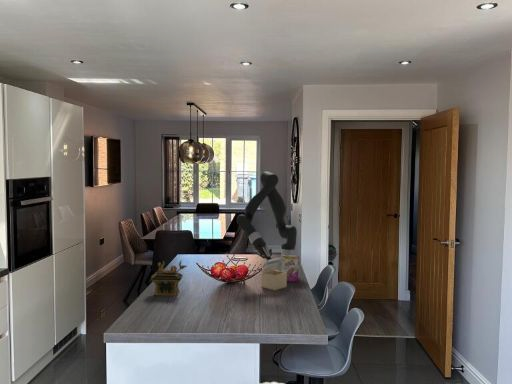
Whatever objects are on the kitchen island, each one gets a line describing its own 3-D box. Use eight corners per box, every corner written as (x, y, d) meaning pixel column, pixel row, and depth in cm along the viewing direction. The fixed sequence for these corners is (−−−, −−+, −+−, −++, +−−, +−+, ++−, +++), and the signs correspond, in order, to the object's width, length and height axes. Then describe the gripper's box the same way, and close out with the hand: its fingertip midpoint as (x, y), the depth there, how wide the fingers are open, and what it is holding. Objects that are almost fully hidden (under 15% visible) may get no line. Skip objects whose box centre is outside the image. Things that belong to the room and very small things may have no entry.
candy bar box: (280, 281, 302) (281, 256, 301) (281, 279, 307) (281, 254, 306) (298, 282, 301) (298, 256, 300) (298, 280, 306) (299, 255, 305)
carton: (273, 284, 295) (274, 269, 295) (286, 286, 289) (286, 272, 288) (261, 287, 286) (261, 272, 285) (274, 290, 279) (274, 275, 279)
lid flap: (273, 269, 295) (273, 268, 295) (281, 258, 290) (280, 257, 291) (261, 272, 286) (261, 271, 286) (269, 260, 282) (268, 259, 282)
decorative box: (150, 295, 263) (150, 260, 262) (153, 291, 273) (154, 257, 272) (186, 296, 263) (186, 261, 262) (188, 291, 273) (188, 258, 272)
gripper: (253, 237, 288) (268, 260, 281) (266, 235, 298) (281, 257, 291) (246, 245, 292) (261, 267, 284) (260, 243, 302) (275, 265, 294)
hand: (271, 262), depth 288 cm, fingers closed
